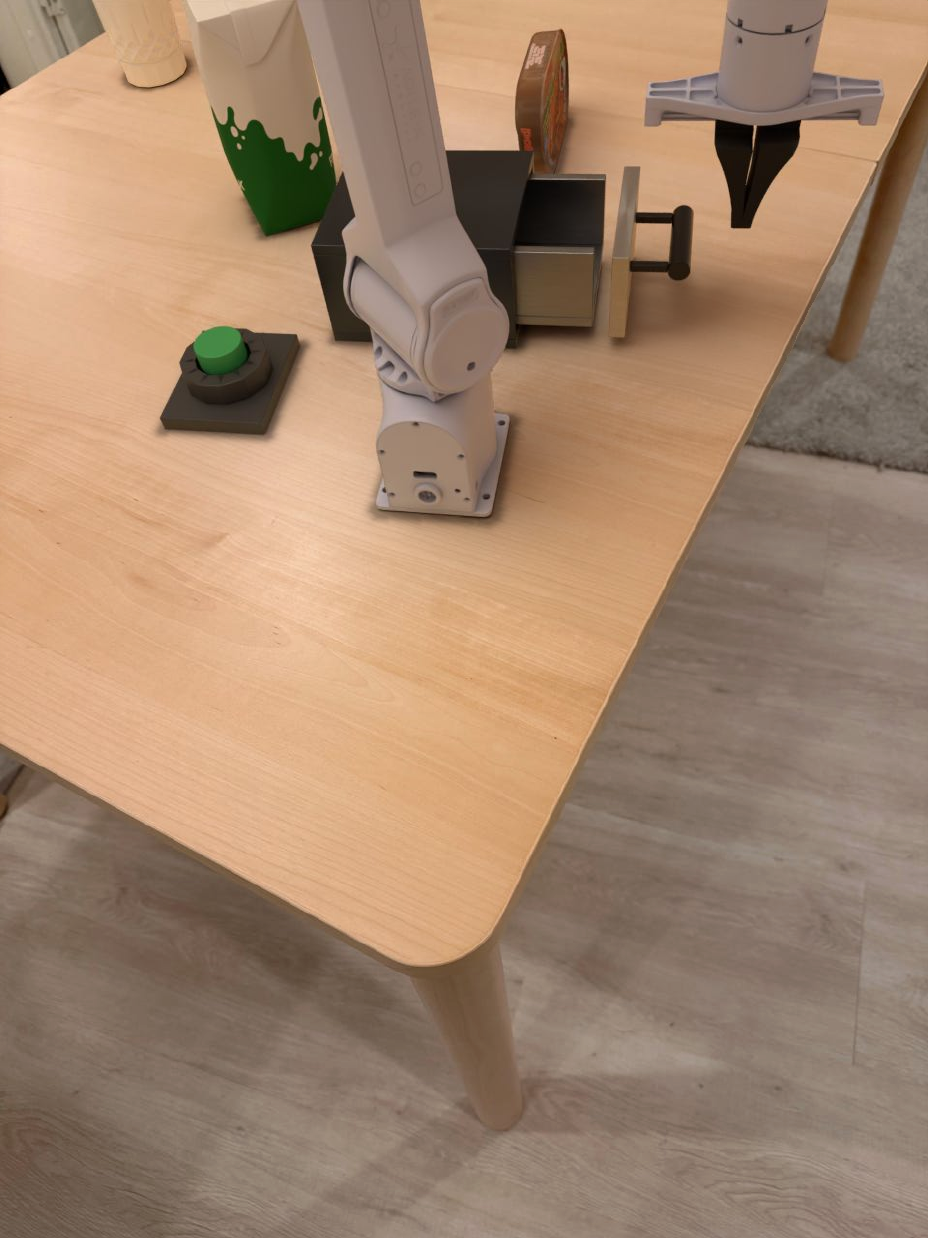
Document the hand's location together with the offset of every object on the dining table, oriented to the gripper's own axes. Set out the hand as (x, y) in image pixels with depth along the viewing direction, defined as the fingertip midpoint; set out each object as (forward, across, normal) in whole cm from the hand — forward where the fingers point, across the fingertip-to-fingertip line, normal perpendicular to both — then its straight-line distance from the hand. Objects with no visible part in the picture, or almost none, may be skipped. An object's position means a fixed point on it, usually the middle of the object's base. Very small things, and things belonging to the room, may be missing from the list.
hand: (740, 220), depth 66 cm
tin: (+7, +17, -22) cm, 29 cm away
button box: (+7, +37, +12) cm, 40 cm away
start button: (+4, +37, +12) cm, 39 cm away
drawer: (+6, +12, 0) cm, 14 cm away
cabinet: (+7, +23, 0) cm, 24 cm away
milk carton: (+7, +39, -12) cm, 41 cm away
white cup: (+7, +62, -37) cm, 73 cm away
